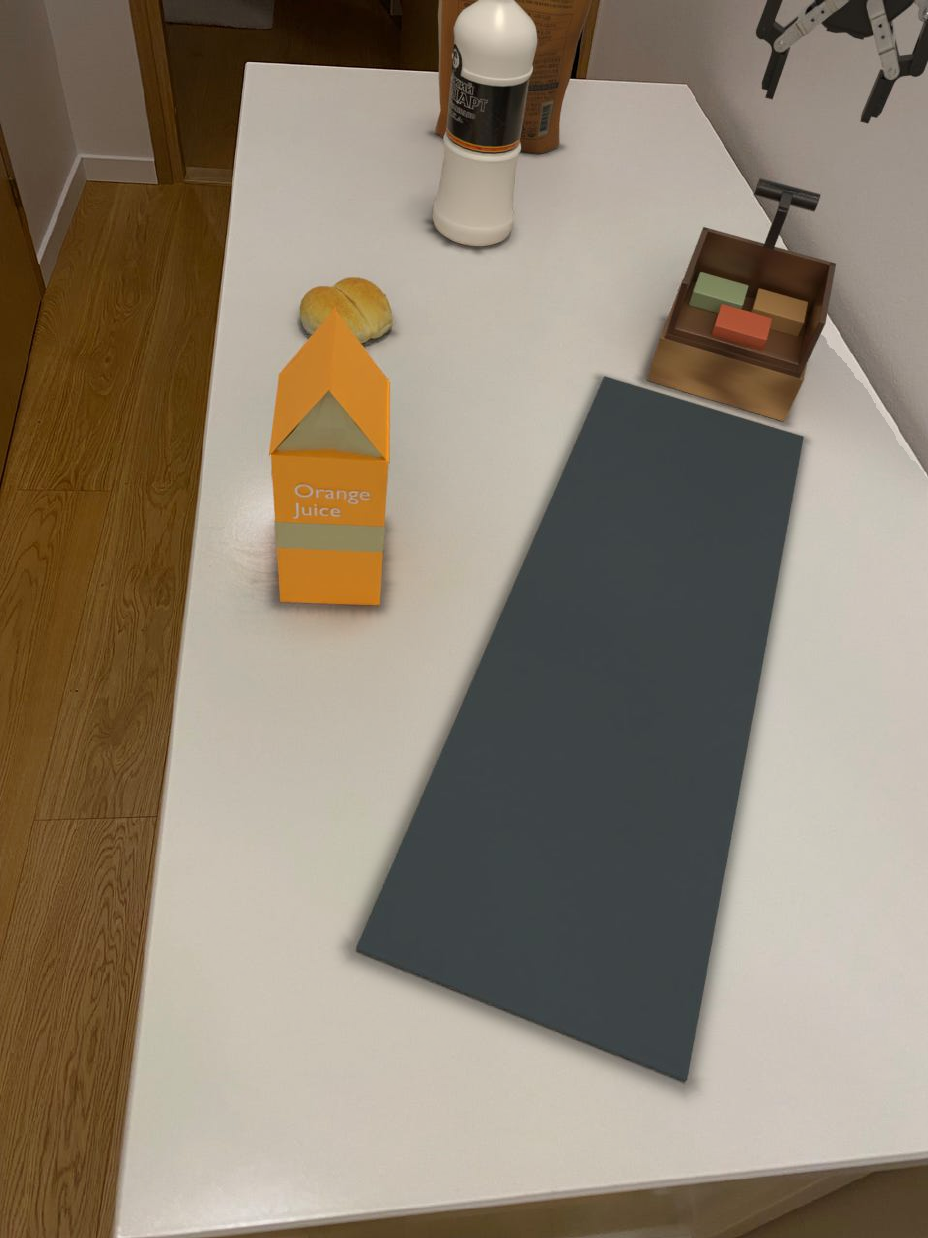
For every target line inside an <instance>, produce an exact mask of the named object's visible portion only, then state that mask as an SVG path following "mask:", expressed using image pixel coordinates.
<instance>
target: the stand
mask: <svg viewBox="0 0 928 1238" xmlns="http://www.w3.org/2000/svg"><path fill="white" fill-rule="evenodd" d="M682 281H683V279H682V280H681V282H680V285H679V287H678V289H677V292H676V295H675V298H674V300H673V303H672V305H671V308H670V311H669V314H668V315H667V318H666V320H665V324H664V327H663V329H662V331H661V334H660V336H659V338H658V343H657V346H656V349H655V352H654V355H653V359H652V362H651V365H650V368H649V372H648V374H647V377H646V381H648V382H650V383H655V384H657V385H661V386H664V387H668V388H671V389H674V390H678V391H680V392H684V393H687V394H691V395H694V396H698V397H701V398H704V399H707V400H711V401H714V402H718V403H722V404H724V405H728V406H730V407H734V408H737V409H741V410H744V411H746V412H747V411H748V412H750V413H754V414H757V415H759V416H764V417H768V418H771V419H774V420H777V421H781V422H786V419H787V417H788V415H789V413H790V411H791V410H792V409H791V408H792V407H793V405H794V402H795V400H796V398H797V396H798V394H799V391H800V389H801V387H802V386H803V383H804V381H805V375H806V371H807V367H808V363H807V364H806V367H805V369H804V371H803V373H802V375H801V377H800V378H797V377H793V376H790V375H786V374H783V373H780V372H776V371H773V370H770V369H766V368H763V367H759V366H756V365H753V364H749V363H746V362H742V361H739V360H736V359H732V358H729V357H725V356H722V355H719V354H715V353H712V352H709V351H705V350H702V349H698V348H695V347H692V346H688V345H685V344H681V343H678V342H675V341H671V340H668V339H665V338H664V337H665V334H666V331H667V328H668V325H669V322H670V318H671V315H672V312H673V309H674V306H675V303H676V300H677V296H678V293H679V290H680V287H681V284H682Z"/></svg>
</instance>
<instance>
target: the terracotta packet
mask: <svg viewBox="0 0 928 1238" xmlns="http://www.w3.org/2000/svg"><path fill="white" fill-rule="evenodd" d="M771 322H772V318H769V317H765V316H762V315H758V314H755V313H751V312H748V311H745V310H741V309H738V308H734V307H731V306H727V305H724V304H721V307H720V310H719V313H718V315H717V318H716V321H715V324H714V327H713V331H712V334H711V335H712V336H715V337H718V338H722V339H725V340H729V341H732V342H736V343H739V344H742V345H746V346H749V347H753V348H756V349H759V350H763V348H764V346H765V344H766V341H767V338H768V334H769V330H770V326H771Z"/></svg>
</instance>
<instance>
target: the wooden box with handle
mask: <svg viewBox="0 0 928 1238" xmlns="http://www.w3.org/2000/svg"><path fill="white" fill-rule="evenodd" d="M753 196H754V197H758V198H761V199H765V200H769V201H772V202H776V203H778V204H777V207H776V211H775V214H774V216H773V219H772V222H771V224H770V227H769V230H768V233H767V234H766V237H765V240H764V242H761V241H760V242H759V241H756V240H752V239H749V238H745V237H741V236H738V235H735V234H731V233H727V232H724V231H720V230H716V229H713V228H709V227H706V226H703V227H702V229H701V231H700V234H699V237H698V239H697V242H696V245H695V247H694V250H693V253H692V255H691V258H690V261H689V263H688V266H687V268H686V271H685V274H684V276H683V278H682V280H683V281H682V280H681V282H682V284H681V283H680V284H681V287H680V286H679V287H680V290H679V289H678V290H679V293H678V296H677V300H676V303H675V306H674V309H673V312H672V315H671V318H670V322H669V325H668V328H667V331H666V334H665V337H664V338H665V339H668V340H671V341H675V342H678V343H681V344H685V345H688V346H692V347H695V348H698V349H702V350H705V351H709V352H712V353H715V354H719V355H722V356H725V357H729V358H732V359H736V360H739V361H742V362H746V363H749V364H753V365H756V366H759V367H763V368H766V369H770V370H773V371H776V372H780V373H783V374H786V375H790V376H793V377H797V378H800V377H801V375H802V373H803V371H804V369H805V367H806V364H807V365H808V362H809V360H810V358H811V355H812V354H813V351H814V349H815V347H816V345H817V343H818V340H819V339H820V336H821V334H822V332H823V330H824V328H825V326H826V323H827V317H828V311H829V306H830V301H831V295H832V290H833V284H834V278H835V271H836V267H837V263H835V262H833V261H832V262H831V261H828V260H825V259H821V258H817V257H813V256H810V255H807V254H803V253H799V252H796V251H792V250H789V249H785V248H782V247H778V246H776V245H777V241H778V239H779V236H780V234H781V231H782V229H783V226H784V223H785V222H786V219H787V216H788V213H789V210H790V207H794V208H799V209H802V210H806V211H810V212H813V213H815V211H816V209H817V207H818V204H819V202H820V198H821V193H818V192H814V191H811V190H807V189H803V188H799V187H796V186H791V185H788V184H785V183H781V182H777V181H773V180H769V179H766V178H763V177H759V179H758V181H757V184H756V186H755V189H754V192H753ZM700 272H703V273H706V274H710V275H713V276H717V277H720V278H724V279H728V280H731V281H735V282H738V283H742V284H745V285H748V286H749V287H748V290H747V294H746V297H745V300H744V304H743V307H742V309H741V310H745V311H748V312H751V309H752V305H753V302H754V299H755V297H756V294H757V292H758V289H759V288H760V289H763V290H767V291H770V292H774V293H777V294H781V295H785V296H788V297H792V298H795V299H799V300H802V301H806V302H808V306H807V311H806V316H805V320H804V324H803V326H802V329H801V331H800V333H799V335H798V337H796V336H793V335H790V334H786V333H783V332H779V331H776V330H772V329H770V330H769V334H768V338H767V341H766V344H765V346H764V348H763V350H759V349H756V348H753V347H749V346H746V345H742V344H739V343H736V342H732V341H729V340H725V339H722V338H718V337H715V336H712V335H711V334H712V331H713V327H714V324H715V321H716V318H717V315H718V313H714V312H711V311H707V310H704V309H700V308H697V307H693V306H690V305H689V302H690V299H691V296H692V293H693V290H694V287H695V284H696V282H697V279H698V276H699V273H700ZM806 368H807V367H806Z"/></svg>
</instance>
